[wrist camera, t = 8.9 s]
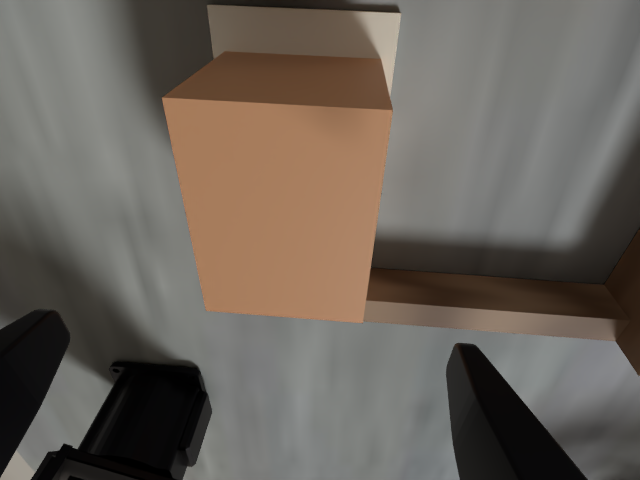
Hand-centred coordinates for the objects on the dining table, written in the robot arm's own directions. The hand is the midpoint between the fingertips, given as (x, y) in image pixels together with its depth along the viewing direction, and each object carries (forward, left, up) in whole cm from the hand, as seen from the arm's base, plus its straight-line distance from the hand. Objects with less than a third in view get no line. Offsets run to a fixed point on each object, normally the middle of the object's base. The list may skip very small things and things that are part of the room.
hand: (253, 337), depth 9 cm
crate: (0, 0, -10) cm, 10 cm away
